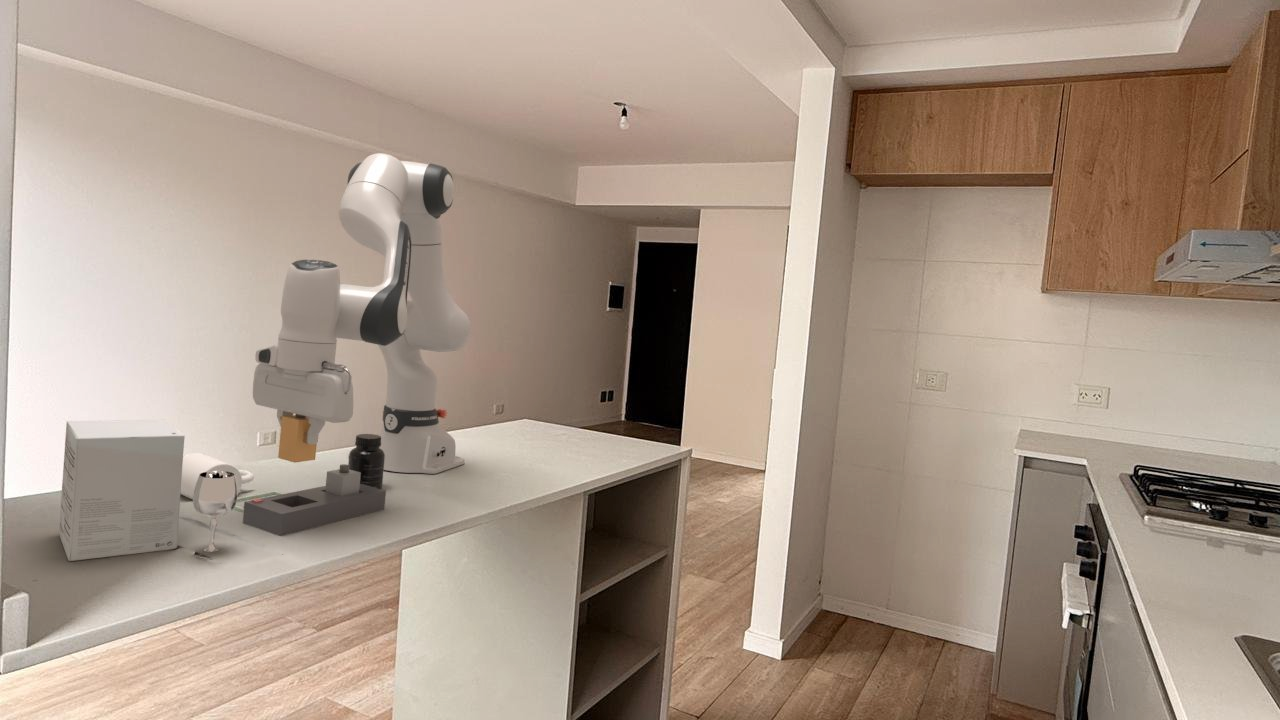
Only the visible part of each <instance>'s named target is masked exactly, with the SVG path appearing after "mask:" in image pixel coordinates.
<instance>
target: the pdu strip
mask: <svg viewBox="0 0 1280 720" xmlns="http://www.w3.org/2000/svg"><path fill="white" fill-rule="evenodd" d="M325 490H326V485H324V486H323V485H322V486H317V487H313V488H308V489H303V490H298V491H292V492H287V493H285V494H281V495H271V496H266V497H260V498H255V499H250V500H245V501H243V502H244V504H243V508H244V513H243V515H242V516H243V517H242V524H244V525H248V526H250V527H253V528H256V529H259V530H262V531H265V532H268V533H269V534H273V535H276V536H280V537H282V536H286V535H290V534H294V533H298V532H300V531H301V532H302V531H305V530H309V529H310V530H311V529H314V528H319V527H322V526H325V525H330V524H333V523H337V522H342V521H345V520H348V519H349V520H350V519H353V518H356V517H361V516H366V515H369V514H372V513H373V514H374V513H376V512H380V511H384V510H385V506H386V505H385V504H386V496H387V495H386V493H387V490H385V489H378V488H374V487H371V486H367V485H364V484H360V488H359V493H356V494H352V495H347V496H342V497H340V496H337V495H334V494H330V493H327V492H325Z"/></svg>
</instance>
